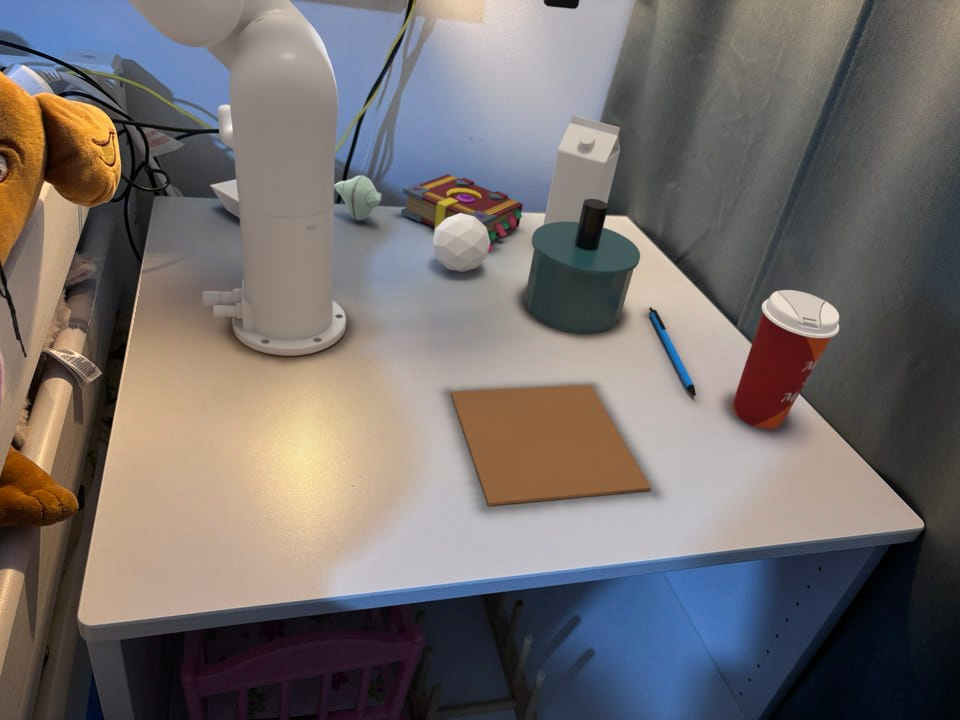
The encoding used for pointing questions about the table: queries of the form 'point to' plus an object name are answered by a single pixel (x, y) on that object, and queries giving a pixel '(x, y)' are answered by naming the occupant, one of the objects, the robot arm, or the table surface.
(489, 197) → the decorative book
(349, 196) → the pale green seashell
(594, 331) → the pot
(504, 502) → the mat
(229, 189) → the figurine
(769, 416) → the paper cup
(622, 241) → the lid
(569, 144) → the milk carton
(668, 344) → the pen
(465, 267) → the geometric ball
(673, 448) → the table surface
